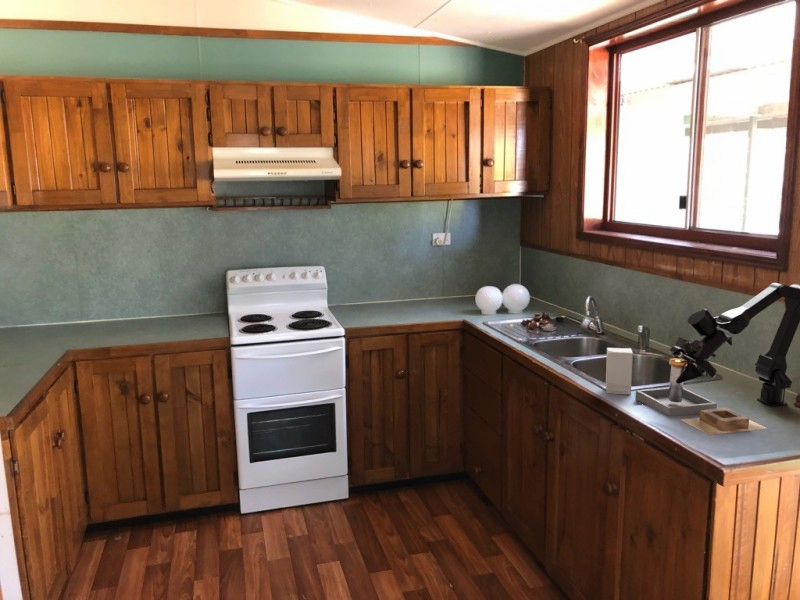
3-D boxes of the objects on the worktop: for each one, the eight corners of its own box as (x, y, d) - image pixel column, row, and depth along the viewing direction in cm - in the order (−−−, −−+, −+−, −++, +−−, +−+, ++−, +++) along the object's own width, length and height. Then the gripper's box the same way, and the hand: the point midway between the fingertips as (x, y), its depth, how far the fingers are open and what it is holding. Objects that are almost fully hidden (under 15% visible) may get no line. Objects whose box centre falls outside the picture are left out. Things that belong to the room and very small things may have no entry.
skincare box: (629, 390, 230) (632, 348, 227) (631, 395, 224) (634, 352, 221) (604, 388, 232) (606, 346, 229) (604, 393, 226) (607, 350, 223)
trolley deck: (736, 416, 205) (737, 404, 205) (766, 431, 194) (768, 418, 193) (680, 422, 200) (681, 410, 199) (708, 438, 189) (709, 424, 188)
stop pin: (683, 398, 215) (686, 359, 212) (685, 403, 210) (688, 363, 207) (665, 396, 216) (668, 357, 214) (667, 402, 211) (670, 362, 209)
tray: (679, 396, 224) (680, 386, 223) (715, 414, 208) (716, 403, 207) (635, 400, 219) (636, 390, 219) (668, 419, 203) (669, 408, 203)
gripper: (676, 321, 218) (642, 355, 219) (710, 335, 200) (673, 372, 201) (697, 344, 221) (663, 377, 221) (732, 360, 203) (695, 396, 203)
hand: (673, 380), depth 212 cm, fingers closed on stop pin, 4 cm apart
